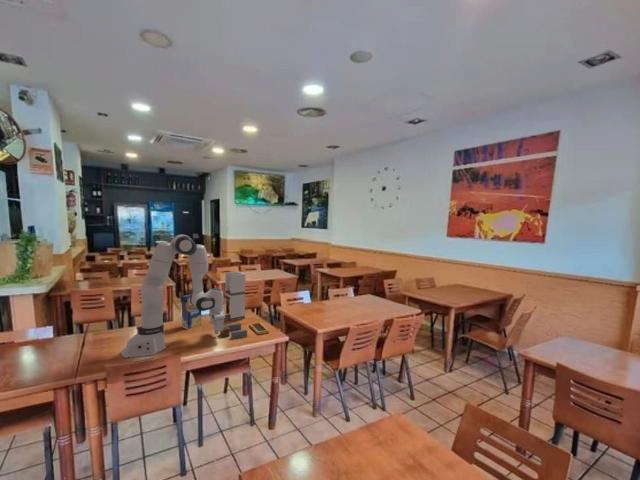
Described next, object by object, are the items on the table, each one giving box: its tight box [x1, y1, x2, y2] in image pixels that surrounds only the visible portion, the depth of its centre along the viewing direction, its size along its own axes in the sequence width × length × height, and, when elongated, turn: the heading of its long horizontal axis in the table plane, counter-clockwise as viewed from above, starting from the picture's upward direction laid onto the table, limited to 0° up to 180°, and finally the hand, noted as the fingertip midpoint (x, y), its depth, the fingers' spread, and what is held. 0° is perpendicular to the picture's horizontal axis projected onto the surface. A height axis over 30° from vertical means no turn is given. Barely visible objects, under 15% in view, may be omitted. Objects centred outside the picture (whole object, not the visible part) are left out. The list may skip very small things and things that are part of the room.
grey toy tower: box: [224, 271, 246, 322], centre depth 241 cm, size 11×11×35 cm
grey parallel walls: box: [225, 322, 248, 340], centre depth 210 cm, size 10×16×4 cm, turn 31°
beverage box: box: [181, 293, 202, 330], centre depth 221 cm, size 7×11×22 cm, turn 149°
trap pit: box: [248, 321, 270, 336], centre depth 219 cm, size 8×18×2 cm, turn 31°
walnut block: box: [219, 326, 231, 338], centre depth 206 cm, size 5×5×5 cm
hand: (216, 333), depth 204 cm, fingers closed
